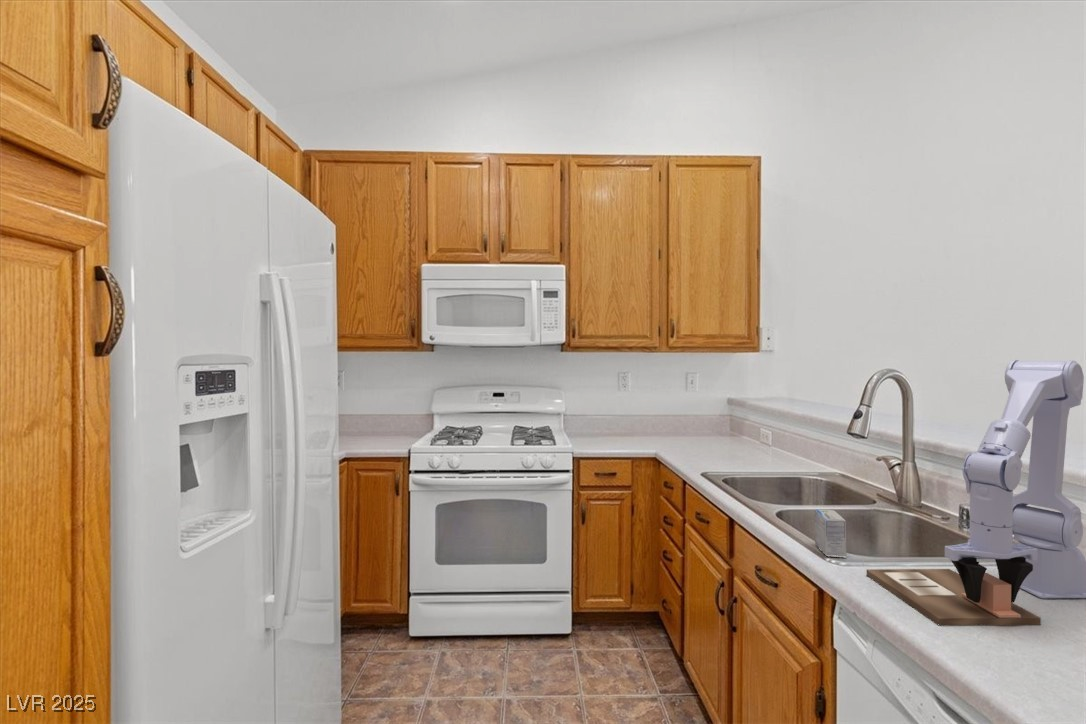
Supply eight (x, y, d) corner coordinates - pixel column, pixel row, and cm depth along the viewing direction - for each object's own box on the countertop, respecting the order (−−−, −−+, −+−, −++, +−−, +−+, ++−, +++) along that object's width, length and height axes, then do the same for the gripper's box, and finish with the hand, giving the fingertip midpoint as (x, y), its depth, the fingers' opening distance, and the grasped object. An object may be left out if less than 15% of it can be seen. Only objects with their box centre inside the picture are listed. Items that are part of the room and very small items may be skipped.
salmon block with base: (981, 595, 96) (981, 569, 96) (1020, 617, 88) (1021, 588, 88) (961, 595, 96) (961, 569, 96) (999, 617, 88) (999, 589, 88)
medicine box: (846, 559, 117) (846, 520, 117) (825, 557, 118) (825, 519, 118) (834, 546, 125) (834, 509, 125) (814, 545, 126) (814, 508, 126)
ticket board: (949, 574, 109) (949, 567, 109) (1040, 624, 89) (1040, 616, 89) (866, 575, 109) (866, 568, 109) (939, 625, 89) (939, 616, 89)
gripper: (1012, 515, 96) (1011, 589, 96) (932, 515, 96) (931, 589, 96) (1049, 528, 89) (1048, 608, 89) (962, 528, 89) (962, 608, 89)
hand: (990, 599), depth 92 cm, fingers open, 5 cm apart
